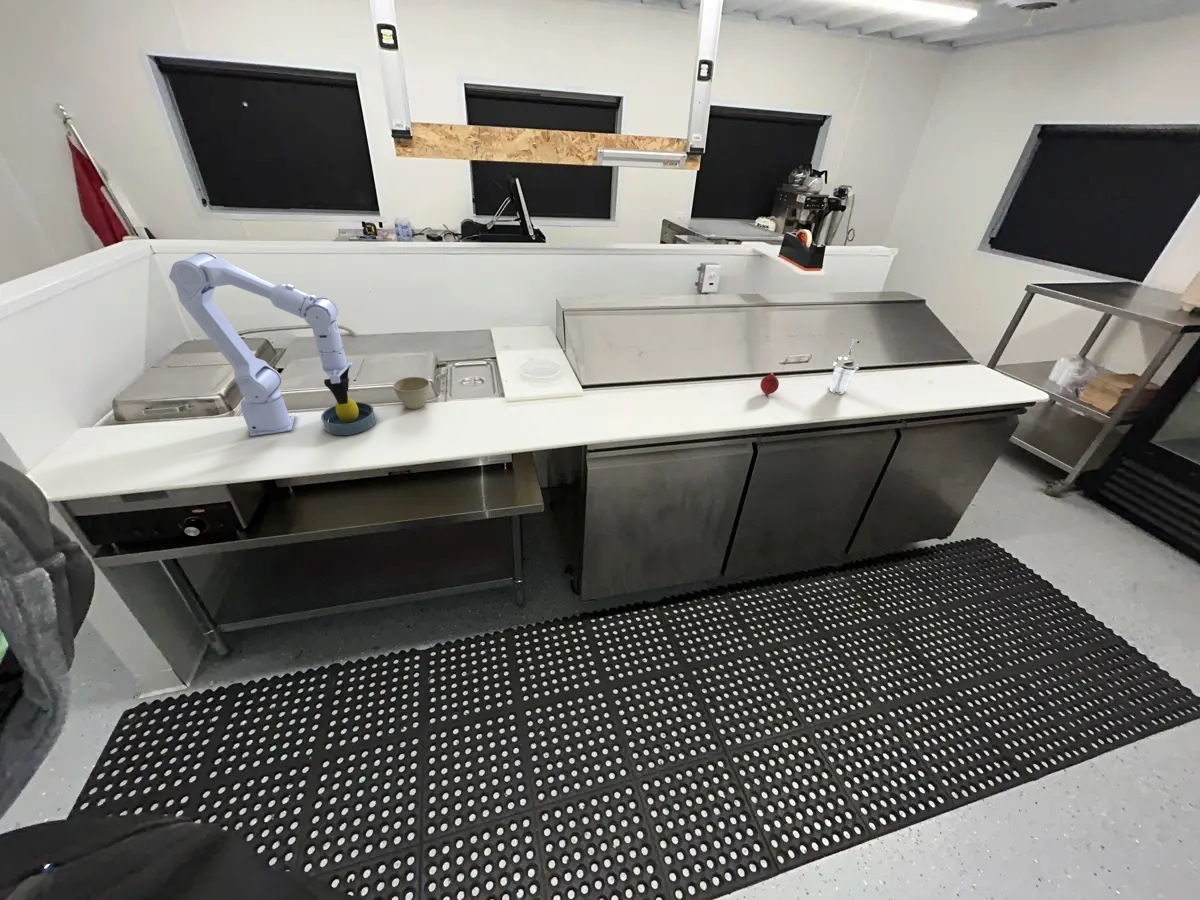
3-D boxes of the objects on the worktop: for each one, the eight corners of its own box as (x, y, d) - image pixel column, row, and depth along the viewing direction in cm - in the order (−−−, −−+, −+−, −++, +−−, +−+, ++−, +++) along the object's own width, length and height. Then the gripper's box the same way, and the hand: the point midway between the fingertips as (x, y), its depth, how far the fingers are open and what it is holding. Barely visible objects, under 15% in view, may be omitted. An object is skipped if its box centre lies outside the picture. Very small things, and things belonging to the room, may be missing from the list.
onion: (777, 398, 162) (784, 376, 158) (760, 398, 162) (766, 376, 157) (772, 391, 167) (778, 369, 162) (756, 390, 167) (761, 368, 162)
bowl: (323, 439, 128) (319, 428, 126) (326, 416, 138) (322, 405, 136) (376, 432, 132) (373, 420, 130) (375, 410, 142) (373, 399, 140)
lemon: (365, 421, 136) (359, 395, 131) (349, 430, 132) (342, 403, 127) (351, 416, 138) (344, 390, 133) (334, 424, 133) (327, 398, 129)
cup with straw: (852, 391, 170) (873, 336, 159) (844, 399, 164) (864, 342, 153) (828, 383, 174) (846, 329, 164) (819, 391, 169) (837, 335, 158)
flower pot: (422, 415, 141) (418, 393, 137) (390, 410, 142) (386, 388, 138) (438, 400, 149) (435, 378, 145) (408, 395, 151) (404, 374, 147)
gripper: (347, 357, 119) (359, 407, 126) (348, 337, 130) (360, 383, 137) (315, 360, 116) (329, 410, 124) (319, 340, 127) (332, 386, 135)
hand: (343, 396), depth 130 cm, fingers open, 7 cm apart
